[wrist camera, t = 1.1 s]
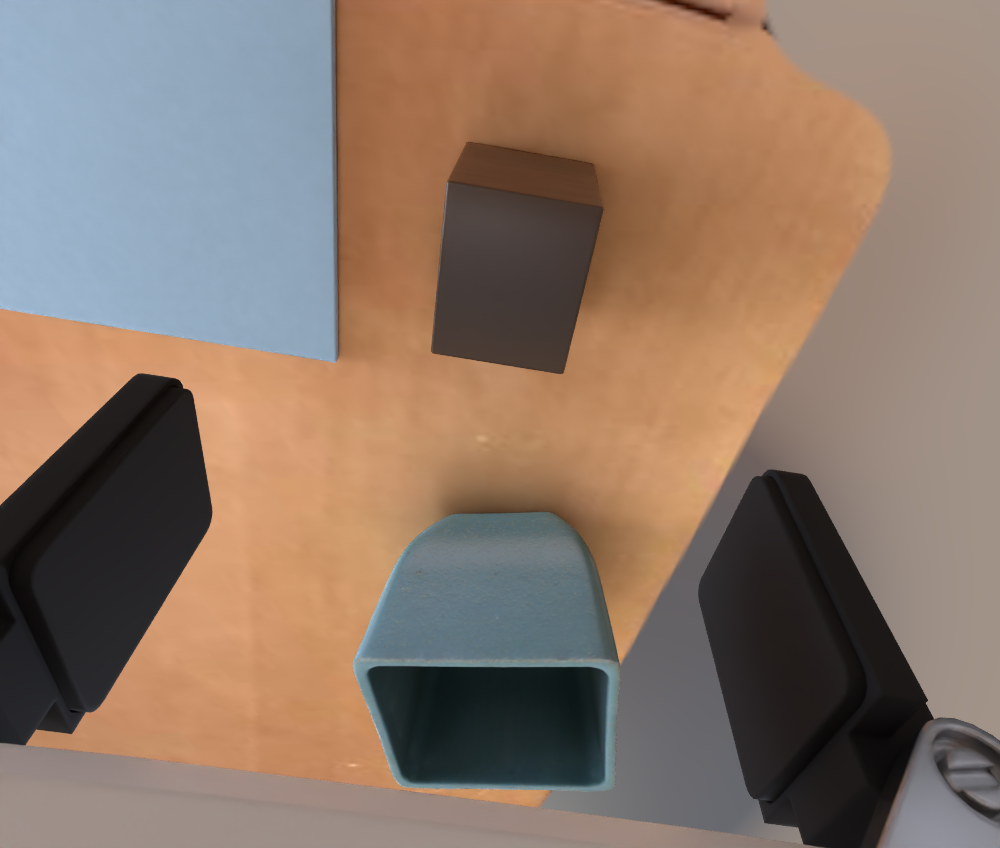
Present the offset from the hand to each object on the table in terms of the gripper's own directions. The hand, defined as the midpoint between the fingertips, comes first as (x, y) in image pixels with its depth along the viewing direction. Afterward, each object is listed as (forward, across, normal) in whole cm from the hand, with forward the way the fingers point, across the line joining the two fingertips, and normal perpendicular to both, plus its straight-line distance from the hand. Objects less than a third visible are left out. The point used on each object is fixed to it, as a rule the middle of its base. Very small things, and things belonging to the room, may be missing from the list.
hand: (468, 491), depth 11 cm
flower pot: (+13, -2, +15) cm, 20 cm away
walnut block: (+13, 0, 0) cm, 13 cm away
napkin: (+13, +13, -2) cm, 18 cm away
